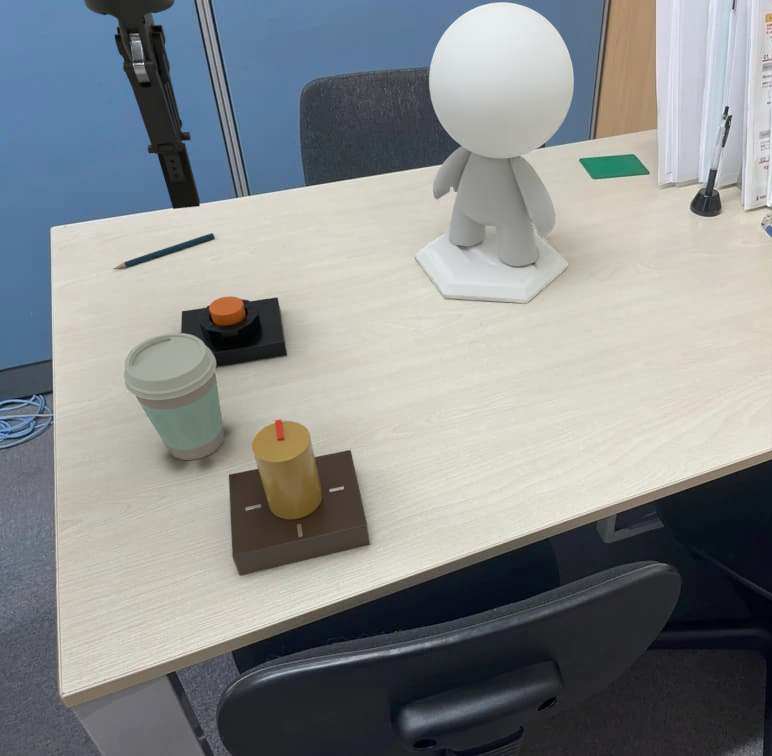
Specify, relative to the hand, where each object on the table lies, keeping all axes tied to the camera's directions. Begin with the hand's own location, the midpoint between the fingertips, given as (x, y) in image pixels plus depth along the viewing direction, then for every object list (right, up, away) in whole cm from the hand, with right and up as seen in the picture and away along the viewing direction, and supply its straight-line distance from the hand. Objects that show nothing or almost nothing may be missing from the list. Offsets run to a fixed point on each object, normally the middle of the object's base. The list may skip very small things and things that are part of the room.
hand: (186, 204), depth 78 cm
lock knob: (+15, -31, -10) cm, 35 cm away
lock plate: (+15, -33, -8) cm, 37 cm away
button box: (0, -14, +13) cm, 19 cm away
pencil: (-16, -1, +28) cm, 32 cm away
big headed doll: (+33, -2, +29) cm, 44 cm away
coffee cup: (+1, -26, 0) cm, 26 cm away
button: (+1, -11, +11) cm, 16 cm away
